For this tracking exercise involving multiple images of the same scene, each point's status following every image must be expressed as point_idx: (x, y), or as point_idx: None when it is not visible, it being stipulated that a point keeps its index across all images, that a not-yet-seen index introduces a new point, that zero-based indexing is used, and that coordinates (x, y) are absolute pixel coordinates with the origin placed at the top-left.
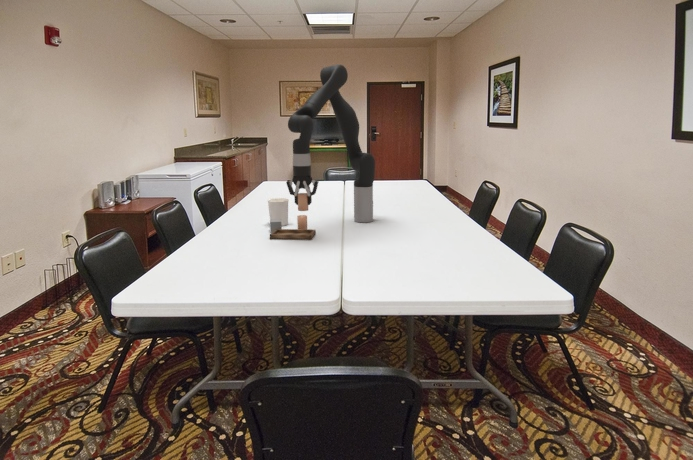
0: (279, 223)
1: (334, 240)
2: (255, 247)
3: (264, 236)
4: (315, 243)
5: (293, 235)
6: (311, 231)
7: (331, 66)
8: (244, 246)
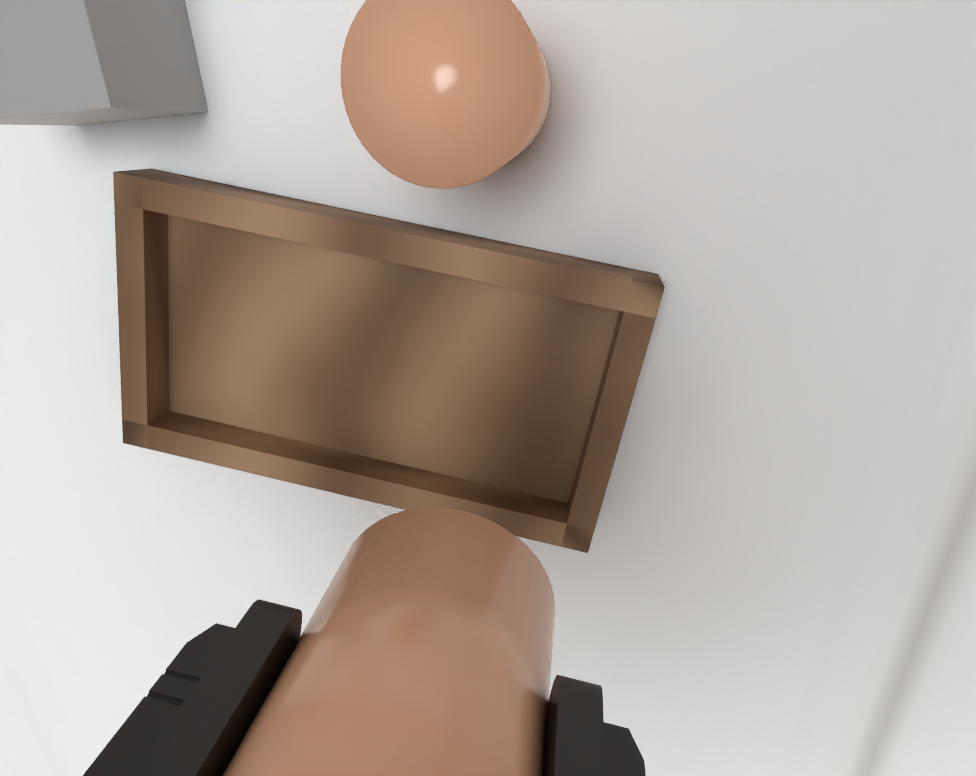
0: (103, 112)
1: (840, 582)
2: (112, 644)
3: (64, 298)
4: (621, 640)
5: (385, 501)
6: (603, 303)
7: None
8: (15, 602)
